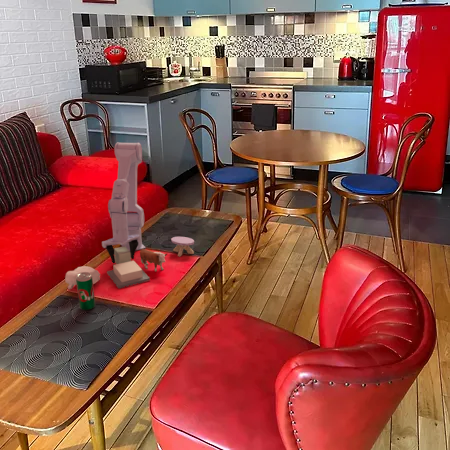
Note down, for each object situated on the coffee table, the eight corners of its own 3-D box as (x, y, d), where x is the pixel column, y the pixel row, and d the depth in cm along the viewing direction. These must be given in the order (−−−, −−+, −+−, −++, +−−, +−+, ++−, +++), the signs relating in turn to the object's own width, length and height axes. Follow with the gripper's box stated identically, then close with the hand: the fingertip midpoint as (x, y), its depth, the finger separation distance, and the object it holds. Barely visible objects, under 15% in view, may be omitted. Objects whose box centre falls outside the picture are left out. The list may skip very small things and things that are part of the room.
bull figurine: (163, 276, 187) (162, 256, 184) (138, 266, 194) (136, 247, 191) (171, 271, 190) (170, 252, 187) (146, 262, 198) (145, 243, 195)
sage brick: (115, 262, 198) (113, 248, 196) (125, 259, 200) (124, 246, 198) (120, 268, 193) (119, 254, 191) (131, 266, 195) (130, 252, 193)
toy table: (167, 253, 205) (166, 240, 203) (180, 246, 212) (179, 233, 210) (186, 259, 200) (185, 246, 198) (199, 251, 208) (198, 238, 205)
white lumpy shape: (81, 286, 186) (56, 290, 172) (84, 263, 186) (59, 266, 172) (101, 290, 183) (77, 295, 169) (104, 267, 183) (80, 270, 169)
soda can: (90, 301, 170) (86, 270, 165) (98, 307, 167) (94, 275, 162) (76, 307, 167) (72, 275, 162) (84, 312, 163) (80, 280, 159)
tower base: (107, 273, 189) (106, 264, 187) (137, 266, 194) (136, 257, 193) (118, 288, 178) (117, 278, 177) (149, 280, 184) (149, 270, 182)
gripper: (104, 235, 184) (107, 268, 189) (141, 228, 191) (144, 260, 196) (99, 229, 190) (102, 261, 195) (135, 222, 196) (137, 253, 202)
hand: (122, 260), depth 196 cm, fingers open, 7 cm apart
